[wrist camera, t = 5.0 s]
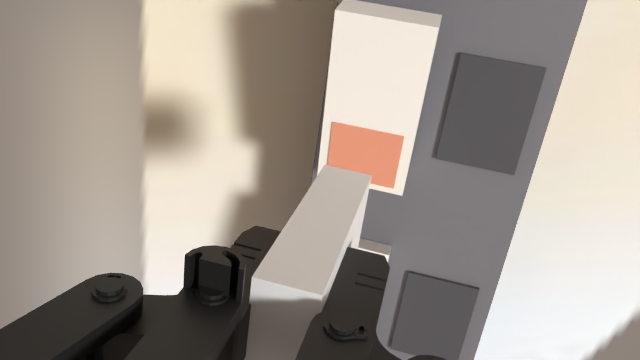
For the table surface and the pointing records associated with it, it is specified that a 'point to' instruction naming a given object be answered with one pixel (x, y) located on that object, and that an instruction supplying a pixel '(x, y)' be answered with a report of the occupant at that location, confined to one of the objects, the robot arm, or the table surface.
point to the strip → (466, 167)
